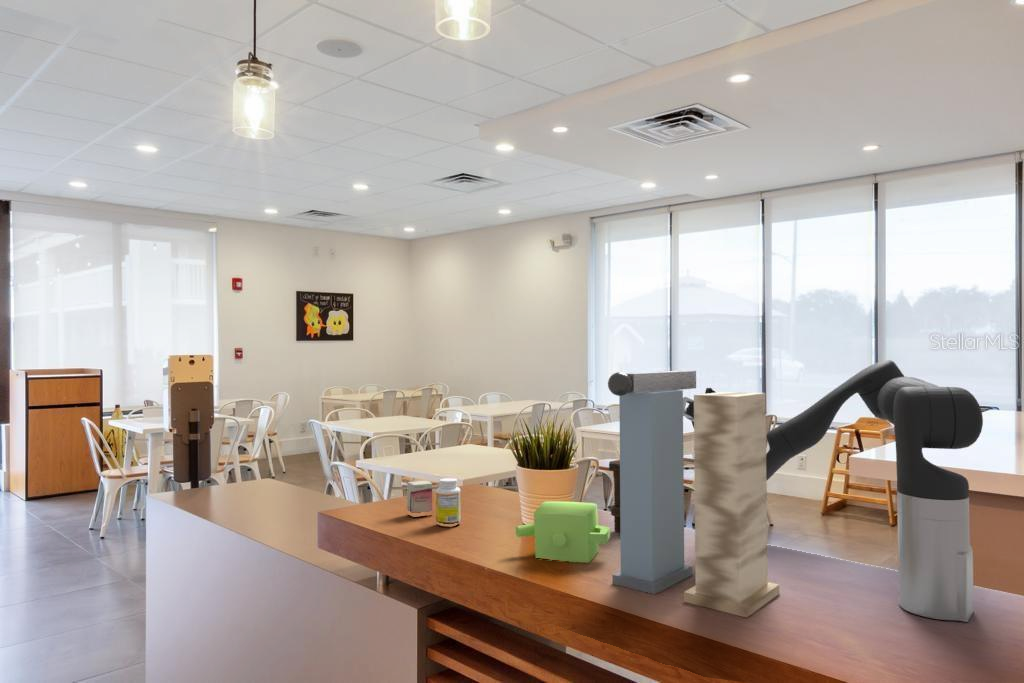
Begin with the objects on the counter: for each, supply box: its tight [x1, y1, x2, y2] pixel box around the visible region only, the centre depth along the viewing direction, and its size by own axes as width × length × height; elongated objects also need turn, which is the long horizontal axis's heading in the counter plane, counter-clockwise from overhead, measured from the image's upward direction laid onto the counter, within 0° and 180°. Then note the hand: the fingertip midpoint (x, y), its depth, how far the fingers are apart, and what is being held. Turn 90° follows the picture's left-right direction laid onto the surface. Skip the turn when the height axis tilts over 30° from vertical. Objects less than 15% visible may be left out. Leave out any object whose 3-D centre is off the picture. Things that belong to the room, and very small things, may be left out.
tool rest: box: [683, 391, 780, 618], centre depth 109 cm, size 10×13×32 cm
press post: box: [611, 389, 693, 595], centre depth 118 cm, size 8×13×32 cm, turn 139°
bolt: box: [608, 459, 620, 533], centre depth 150 cm, size 6×5×15 cm
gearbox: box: [515, 500, 611, 564], centre depth 132 cm, size 18×10×10 cm, turn 72°
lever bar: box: [607, 370, 697, 397], centre depth 119 cm, size 4×26×4 cm, turn 139°
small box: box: [406, 480, 433, 513], centre depth 165 cm, size 5×4×8 cm
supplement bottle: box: [435, 477, 462, 524], centre depth 156 cm, size 6×6×10 cm
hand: (685, 391), depth 129 cm, fingers open, 8 cm apart
